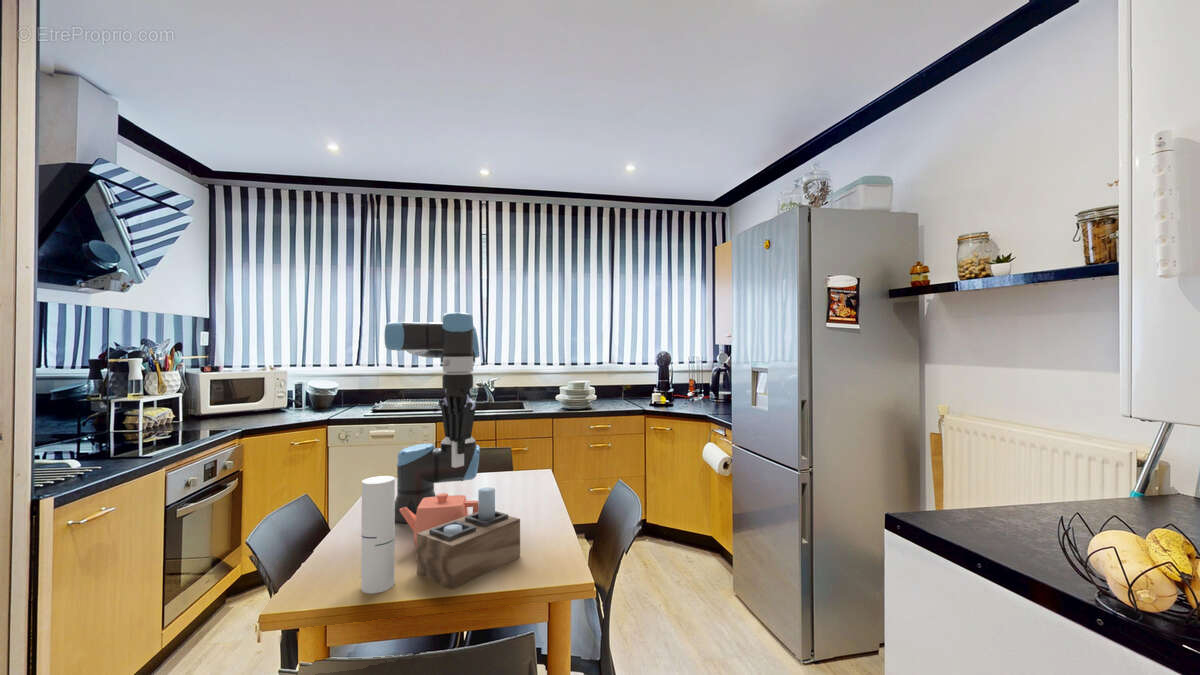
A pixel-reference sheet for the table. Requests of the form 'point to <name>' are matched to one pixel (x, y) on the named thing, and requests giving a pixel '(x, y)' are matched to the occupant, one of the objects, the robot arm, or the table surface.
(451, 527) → the peg front
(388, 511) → the cylindrical container
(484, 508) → the peg rear
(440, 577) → the wooden peg block
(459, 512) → the teapot
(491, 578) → the table surface
